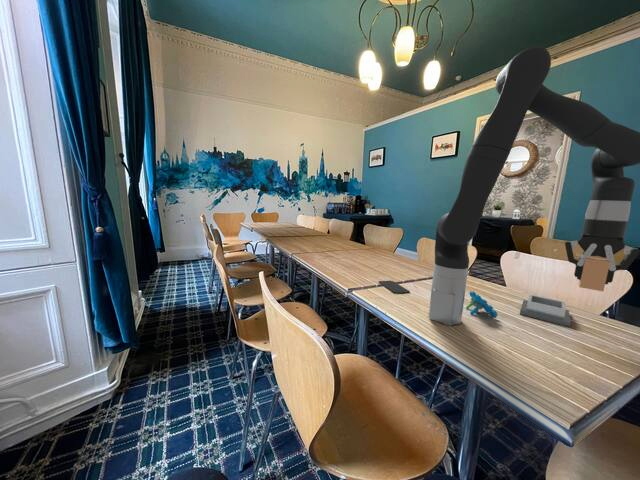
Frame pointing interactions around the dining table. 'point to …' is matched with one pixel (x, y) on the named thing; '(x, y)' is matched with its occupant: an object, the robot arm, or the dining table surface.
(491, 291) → the dining table surface
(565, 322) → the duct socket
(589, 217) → the robot arm
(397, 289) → the phone
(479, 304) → the blue toy figure
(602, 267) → the tan rectangular block
